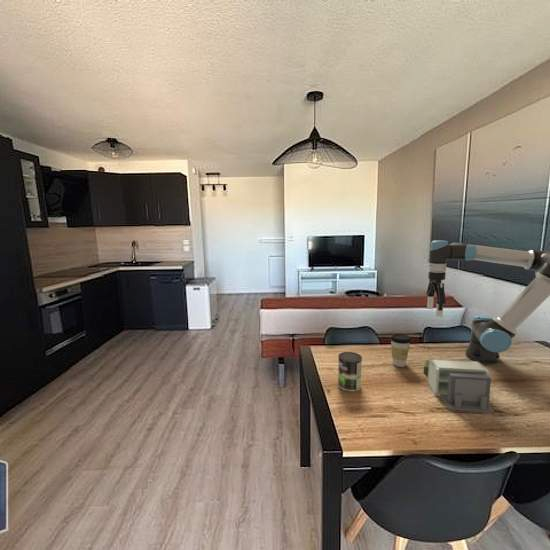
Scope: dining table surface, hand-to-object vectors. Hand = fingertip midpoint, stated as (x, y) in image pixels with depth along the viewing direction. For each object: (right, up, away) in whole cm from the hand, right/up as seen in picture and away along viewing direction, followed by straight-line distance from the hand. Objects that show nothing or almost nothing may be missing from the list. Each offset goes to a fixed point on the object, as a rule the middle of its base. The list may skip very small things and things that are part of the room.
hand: (434, 312), depth 156 cm
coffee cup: (-17, -27, +2) cm, 32 cm away
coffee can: (-48, -31, -17) cm, 60 cm away
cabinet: (-4, -32, -28) cm, 43 cm away
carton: (-1, -29, -9) cm, 31 cm away
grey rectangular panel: (-5, -32, -35) cm, 47 cm away
